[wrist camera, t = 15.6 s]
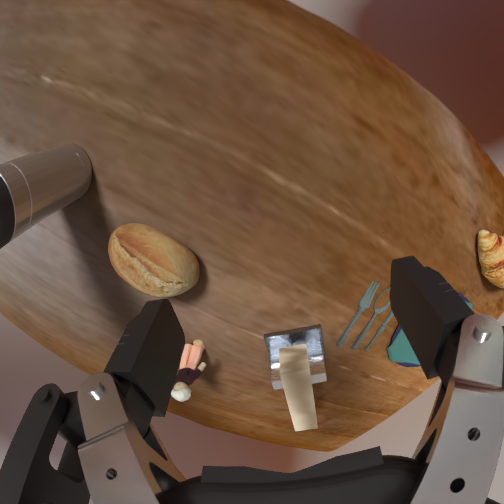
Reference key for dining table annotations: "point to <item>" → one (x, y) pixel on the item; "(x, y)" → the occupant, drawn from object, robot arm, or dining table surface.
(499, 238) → the croissant
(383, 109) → the dining table surface
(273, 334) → the ridge stand
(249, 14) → the dining table surface
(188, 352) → the grandmother figurine
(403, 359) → the cutlery set
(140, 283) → the bread roll
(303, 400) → the birch bar
